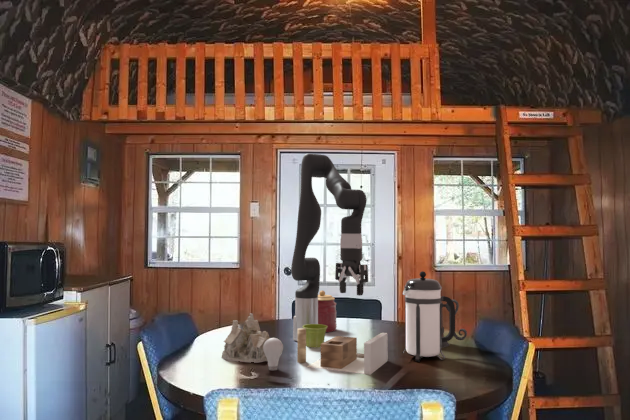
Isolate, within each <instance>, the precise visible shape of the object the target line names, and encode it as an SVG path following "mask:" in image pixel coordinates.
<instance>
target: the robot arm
mask: <svg viewBox="0 0 630 420" xmlns="http://www.w3.org/2000/svg"><path fill="white" fill-rule="evenodd" d="M300 169H301V170H300V195H299V205H298V212H297V214H298V215H297V223H296V224H297V225H296V226H297V227H296V234H295V235H296V237H295V244H294V250H293V254H292V255H293V257H292V261H291V276H292V279H293V280H295V281H296V282H297V281H298V282H300V281H301V282H303V281H304V282H305V281H306V283H305V284H304V285H303V286H301V287H299V288H297V289H296V290H295V292H294V293H295V298H294V299H295V301H294V302H295V303H294V304H295V307H294V308H295V311H294V312H295V313H294V316H292V318H293V319H292V320H293V321H292V322H293V323H292V331H293V332H292V341H296V342H297V337H298V329H299V328H303V327H302V326H303V325H307V324H318V295H319V293H320V280H321V279H320V278H321V264H320V261H319V259H317V258H316V257H306V253H307V249H308V247H309V245H310V244H311V242H312V241H313V239H314V238H315V236H316V235H317V233H318V231H319V229H320V228H321V227H320V226H321V219H322V208H321V205H320V203H319V201H318V199H317V197H316V195H315V192H314V190H313V181H312V180H313V178H319V179H322V178H324V179H325V185H326V186H325V187H326V188H327V191H328V192H329V193H330V194H331V195H332V196H333V197H334V200H335V203H336V206H337V207H338V208H339V209H342V210H352V212H351V214H350V215H347V216H344V217H342V218H341V219H340V221H341V222H340V223H341V224H340V232H341V233H340V249H339V250H340V253H339V256H340V260H341V262H336V263H335V271H334V272H335V273H334V274H335V275H334V276H335V277H334V279H335V281H338V282H339V293H341V294H346V293H347V282H346V281H347V279H348V278H349V277H352V279H354V280H355V282H356V283H357V284H356V296H363V295H364V285H365V284H366V283H369V265H368V264H362V263H361V261H363V238H362V237H363V236H362V221H363V217H364V213H365V209H366V205H367V200H368V199H367V195H366V193H365V192H364V191H363V190H362V189H352V186H351V184H350V183H349V182H348V181H347V180H346V179H344V177H343V176H342V175H341V174H340V173H339V171H338V169H337V168H336V166H335V165H334V163H333V161H332V160H331V159H330V157H329V156H327V155H325V154H320V153H305V154H304V155H303V157H302V160H301V165H300Z"/></svg>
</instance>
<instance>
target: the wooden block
mask: <svg viewBox="0 0 630 420" xmlns="http://www.w3.org/2000/svg"><path fill="white" fill-rule="evenodd" d="M357 358H364V353H360V352H358V353H357Z"/></svg>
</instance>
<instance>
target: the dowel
mask: <svg viewBox="0 0 630 420" xmlns="http://www.w3.org/2000/svg"><path fill="white" fill-rule="evenodd" d="M296 342H297V344H296V345H297V355H296V356H297V358H296V361H297V363H298V364H304V363H306V362H307V346H306V329H304V328H299V329H298V337H297V341H296Z"/></svg>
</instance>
